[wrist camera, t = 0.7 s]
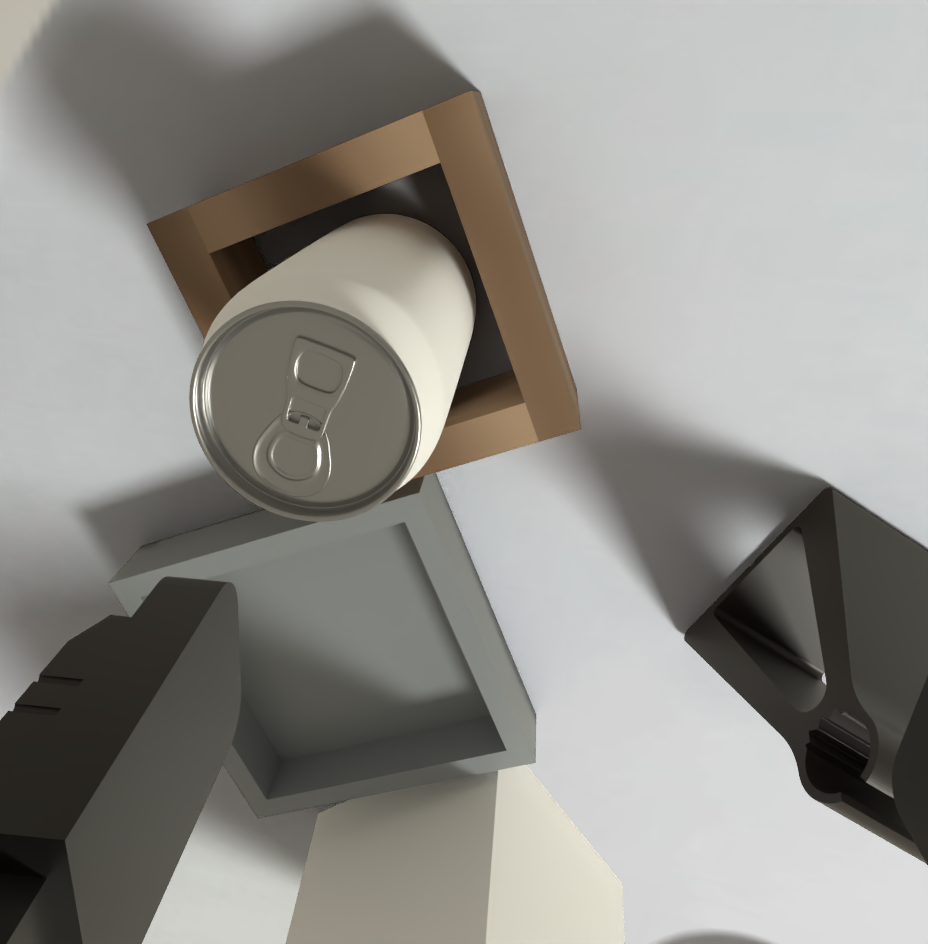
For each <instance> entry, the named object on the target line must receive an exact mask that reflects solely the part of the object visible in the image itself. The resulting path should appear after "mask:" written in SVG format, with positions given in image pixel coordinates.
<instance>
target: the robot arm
mask: <svg viewBox="0 0 928 944" xmlns="http://www.w3.org/2000/svg"><path fill="white" fill-rule="evenodd" d="M240 704H241V668H240V644H239V619H238V598H237V592H236V588H235V586H234V584H233V583H231V582H222V581H212V580H202V579H192V578H182V577H172V576H166V577H164V578H162V579H161V580H160V581H159V582H158V583H157V585H156V586H155V587H154V589H153V590H152V591H151V592H150V594H149V595H148V596H147V598H146V599H145V600H144V602H143V603H142V604H141V605H140V607H139V608H138V609H137V611H136V612H135V613H134V615H133V616H132V617H124V616H114V615H110V616H108V617H107V618H105V619H104V620H102V621H100V622H99V623H97V624H95V625H94V626H92V627H91V628H89V629H87V630H86V631H84V632H82V633H81V634H79V635H78V636H76V637H74V638H73V639H71V640H69V641H68V642H67V643H66V644H65V646H64V647H63V648H62V649H61V650H60V651H59V653H58V654H57V655H56V656H55V657H54V658H53V660H52V661H51V662H50V663H49V664H48V665H47V667H46V668H45V669H44V670H43V671H42V672H41V674H40V676H39V680H38V682H33V683H32V684H31V685H30V686H29V688H28V689H27V690H26V691H25V692H24V693H23V695H22V696H21V697H20V698H19V699H18V700H17V702H16V703H15V708H14V710H13V711H8V712H7V713H6V714H5V716H4V717H3V718H2V719H1V720H0V944H142V942H143V939H144V937H145V935H146V933H147V931H148V928H149V926H150V924H151V922H152V919H153V917H154V915H155V913H156V911H157V908H158V906H159V904H160V902H161V899H162V897H163V895H164V893H165V891H166V888H167V886H168V884H169V882H170V879H171V877H172V875H173V873H174V871H175V868H176V866H177V864H178V862H179V859H180V857H181V855H182V853H183V851H184V848H185V846H186V844H187V842H188V839H189V837H190V835H191V833H192V831H193V828H194V826H195V824H196V822H197V819H198V817H199V815H200V813H201V811H202V808H203V806H204V804H205V802H206V799H207V797H208V795H209V793H210V791H211V788H212V786H213V784H214V782H215V779H216V777H217V775H218V773H219V771H220V768H221V766H222V764H223V762H224V759H225V757H226V755H227V753H228V751H229V748H230V746H231V743H232V741H233V738H234V734H235V731H236V727H237V723H238V718H239V712H240ZM892 789H893V796H894V801H895V804H896V808H897V810H898V813H899V815H900V817H901V819H902V821H903V823H904V825H905V826H906V828H907V830H908V832H909V833H910V835H911V837H912V839H913V840H914V842H915V844H916V846H917V848H918V849H919V851H920V853H921V855H922V856H923V858H924V860H925V862H926V863H927V865H928V676H927V678H926V681H925V683H924V686H923V688H922V691H921V693H920V696H919V698H918V701H917V703H916V706H915V708H914V711H913V714H912V716H911V719H910V721H909V724H908V726H907V729H906V731H905V734H904V736H903V739H902V741H901V744H900V746H899V749H898V751H897V754H896V756H895V759H894V763H893V768H892Z"/></svg>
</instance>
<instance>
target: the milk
mask: <svg viewBox="0 0 928 944" xmlns="http://www.w3.org/2000/svg"><path fill="white" fill-rule="evenodd" d="M286 944H625V933H624V909H623V885H622V883H621V882H620V881H619V879H618V878H617V877H616V876H615V874H614V873H613V872H612V871H611V869H610V868H609V867H608V866H607V864H606V863H605V862H604V861H603V860H602V858H601V857H600V856H599V855H598V853H597V852H596V851H595V850H594V848H593V847H592V846H591V845H590V843H589V842H588V841H587V840H586V838H585V837H584V836H583V835H582V834H581V832H580V831H579V830H578V829H577V827H576V826H575V825H574V824H573V822H572V821H571V820H570V819H569V817H568V816H567V815H566V814H565V812H564V811H563V810H562V809H561V807H560V806H559V805H558V804H557V803H556V801H555V800H554V799H553V798H552V796H551V795H550V794H549V793H548V791H547V790H546V789H545V788H544V786H543V785H542V784H541V783H540V781H539V780H538V779H537V778H536V777H535V775H534V774H533V773H532V772H531V770H530V769H529V768H528V767H527V765H522V766H517V767H512V768H507V769H502V770H497V771H492V772H487V773H482V774H477V775H472V776H467V777H462V778H457V779H452V780H447V781H442V782H437V783H432V784H427V785H422V786H417V787H412V788H407V789H402V790H397V791H392V792H387V793H382V794H377V795H372V796H367V797H362V798H357V799H352V800H348V801H345V802H343V803H341V804H338V805H336V806H334V807H331V808H329V809H327V810H325V811H322V812H320V813H318V816H317V820H316V824H315V828H314V832H313V836H312V840H311V844H310V848H309V852H308V856H307V860H306V864H305V868H304V872H303V876H302V880H301V884H300V888H299V892H298V896H297V900H296V904H295V908H294V912H293V916H292V920H291V924H290V928H289V932H288V936H287V940H286Z"/></svg>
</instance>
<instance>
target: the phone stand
mask: <svg viewBox="0 0 928 944" xmlns="http://www.w3.org/2000/svg"><path fill="white" fill-rule="evenodd" d="M684 639H685V641H686V642H687V643H688V644H689V645H690V646H691V647H692V648H693V649H694V650H695V651H696V652H697V653H698V654H699V655H700V656H701V657H702V658H703V659H704V660H705V661H706V662H707V663H708V664H709V665H710V666H711V667H712V668H713V669H714V670H715V671H716V672H717V673H718V674H719V675H720V676H721V677H722V678H723V679H724V680H725V681H726V682H727V683H728V684H730V685H731V686H732V687H733V688H734V689H735V690H736V691H737V692H738V693H739V694H740V695H741V696H742V697H743V698H744V699H745V700H746V701H747V702H748V703H749V704H750V705H751V706H752V707H753V708H754V709H755V710H756V711H757V712H758V713H759V714H760V715H761V716H762V717H763V718H764V719H765V720H766V721H767V722H768V723H769V724H770V725H771V726H772V727H773V728H774V729H775V730H776V731H777V732H778V733H780V734H781V735H782V737H783V738H784V739H785V740H786V741H787V743H788V744H789V746H790V748H791V749H792V752H793V754H794V756H795V759H796V762H797V766H798V771H799V776H800V780H801V783H802V785H803V787H804V789H805V791H806V792H807V793H808V794H809V795H810V796H811V797H812V798H813V799H815V800H817V801H818V802H820V803H822V804H824V805H825V806H827V807H829V808H831V809H832V810H834V811H836V812H838V813H839V814H841V815H843V816H844V817H846V818H848V819H850V820H851V821H853V822H855V823H857V824H858V825H860V826H862V827H864V828H865V829H867V830H869V831H871V832H872V833H874V834H876V835H878V836H879V837H881V838H883V839H885V840H886V841H888V842H890V843H891V844H893V845H895V846H897V847H898V848H900V849H902V850H904V851H905V852H907V853H909V854H911V855H912V856H914V857H916V858H918V859H919V860H921V861H923V862H925V860H924V858H923V856H922V855H921V853H920V851H919V849H918V848H917V846H916V844H915V842H914V840H913V839H912V837H911V835H910V833H909V832H908V830H907V828H906V826H905V825H904V823H903V821H902V819H901V817H900V815H899V813H898V810H897V808H896V804H895V801H894V796H893V789H892V768H893V763H894V759H895V756H896V754H897V751H898V749H899V746H900V744H901V741H902V739H903V736H904V734H905V731H906V729H907V726H908V724H909V721H910V719H911V716H912V714H913V711H914V708H915V706H916V703H917V701H918V698H919V696H920V693H921V691H922V688H923V686H924V683H925V681H926V678H927V676H928V552H927V551H926V550H924V549H923V548H921V547H920V546H918V545H917V544H915V543H914V542H912V541H911V540H909V539H908V538H906V537H905V536H903V535H902V534H900V533H899V532H897V531H896V530H894V529H892V528H891V527H889V526H888V525H886V524H885V523H883V522H882V521H880V520H879V519H877V518H876V517H874V516H873V515H871V514H870V513H868V512H867V511H865V510H864V509H862V508H861V507H859V506H858V505H856V504H854V503H853V502H851V501H850V500H848V499H847V498H845V497H844V496H842V495H841V494H839V493H838V492H836V491H835V490H833V489H832V488H826V489H824V490H823V491H822V492H821V493H820V494H819V495H818V496H817V497H816V498H815V499H814V500H813V501H812V502H811V503H810V504H809V505H808V506H807V507H806V509H805V510H804V511H803V512H802V513H801V514H800V515H799V516H798V517H797V518H796V519H795V520H794V521H793V522H792V523H791V524H790V525H789V526H788V527H787V528H786V529H785V530H784V531H783V532H782V533H781V534H780V535H779V536H778V537H777V538H776V539H775V540H774V541H773V543H772V544H771V545H770V546H769V547H768V548H767V549H766V550H765V551H764V552H763V553H762V554H761V555H760V556H759V557H758V558H757V559H756V560H755V564H754V566H753V567H751V568H750V567H748V568H747V569H746V570H745V571H744V572H743V573H742V574H741V575H740V577H739V578H738V579H737V580H736V581H735V582H734V583H733V584H732V585H731V586H730V587H729V588H728V589H727V590H726V591H725V592H724V593H723V594H722V595H721V596H720V597H719V598H718V599H717V600H716V601H715V602H714V603H713V604H712V605H711V606H710V607H709V608H708V609H707V611H706V612H705V613H704V614H703V615H702V616H701V617H700V618H699V619H698V620H697V621H696V622H695V623H694V624H693V625H692V626H691V627H690V628H689V629H688V630H687V632H686V634H685V637H684ZM824 672H825V676H826V683H827V685H825V684H824V683H823V682H822V675H823V674H824ZM925 863H926V862H925ZM926 864H927V863H926Z"/></svg>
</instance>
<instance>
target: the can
mask: <svg viewBox="0 0 928 944" xmlns="http://www.w3.org/2000/svg"><path fill="white" fill-rule="evenodd" d="M475 317H476V294H475V288H474V284H473V280H472V277H471V274H470V272H469V269H468V267H467V265H466V263H465V261H464V259H463V258H462V256H461V255H460V253H459V252H458V250H457V249H456V248H455V247H454V246H453V244H452V243H451V242H450V241H449V240H448V239H447V238H446V237H445V236H443V235H442V234H441V233H440V232H438V231H437V230H436V229H434V228H432V227H431V226H429V225H427V224H425V223H423V222H421V221H419V220H416V219H414V218H411V217H407V216H403V215H397V214H374V215H368V216H364V217H360V218H357V219H355V220H352V221H350V222H348V223H346V224H344V225H342V226H340V227H338V228H337V229H335V230H333V231H332V232H330V233H328V234H327V235H325V236H323V237H322V238H320V239H318V240H317V241H315V242H314V243H312V244H310V245H309V246H307V247H306V248H304V249H302V250H301V251H299V252H298V253H296V254H295V255H293V256H291V257H290V258H288V259H287V260H285V261H284V262H282V263H280V264H279V265H277V266H276V267H274V268H273V269H271V270H270V271H268V272H266V273H265V274H263V275H262V276H260V277H259V278H257V279H256V280H254V281H253V282H251V283H250V284H249V285H247V286H246V287H245V288H243V289H242V290H241V291H240V292H238V293H237V294H236V295H235V296H234V297H233V298H232V299H231V300H230V301H229V302H228V303H227V304H226V305H225V306H224V308H223V309H222V310H221V311H220V313H219V314H218V315H217V317H216V318H215V320H214V321H213V323H212V325H211V327H210V329H209V331H208V333H207V335H206V338H205V341H204V344H203V347H202V351H201V353H200V354H199V357H198V359H197V361H196V364H195V367H194V370H193V373H192V378H191V384H190V396H189V399H190V412H191V418H192V423H193V427H194V430H195V433H196V436H197V439H198V441H199V444H200V446H201V448H202V450H203V452H204V454H205V455H206V457H207V459H208V460H209V462H210V463H211V465H212V466H213V467H214V469H215V470H216V471H217V473H218V474H219V475H220V476H221V477H222V478H223V479H224V480H225V481H226V482H227V483H228V484H229V485H230V486H231V487H232V488H233V489H234V490H235V491H237V492H238V493H239V494H240V495H242V496H243V497H245V498H246V499H248V500H249V501H251V502H252V503H254V504H256V505H258V506H259V507H261V508H263V509H265V510H268V511H270V512H272V513H275V514H278V515H281V516H284V517H288V518H292V519H296V520H303V521H313V522H326V521H336V520H342V519H347V518H350V517H354V516H357V515H360V514H362V513H364V512H367V511H369V510H371V509H373V508H374V507H376V506H378V505H379V504H381V503H382V502H383V501H385V500H386V499H387V498H388V497H390V496H391V495H392V494H393V493H394V492H395V491H396V490H398V489H399V488H401V487H402V486H403V485H405V484H406V483H407V482H408V481H410V480H411V479H412V478H413V477H414V476H415V475H416V474H417V473H418V472H419V471H420V469H421V468H422V467H423V466H424V464H425V463H426V462H427V460H428V459H429V457H430V455H431V454H432V452H433V450H434V449H435V447H436V445H437V443H438V440H439V438H440V435H441V433H442V430H443V427H444V425H445V422H446V419H447V416H448V412H449V409H450V406H451V403H452V400H453V397H454V393H455V390H456V387H457V383H458V380H459V377H460V374H461V370H462V367H463V364H464V360H465V357H466V354H467V350H468V347H469V343H470V340H471V336H472V332H473V328H474V323H475Z"/></svg>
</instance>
